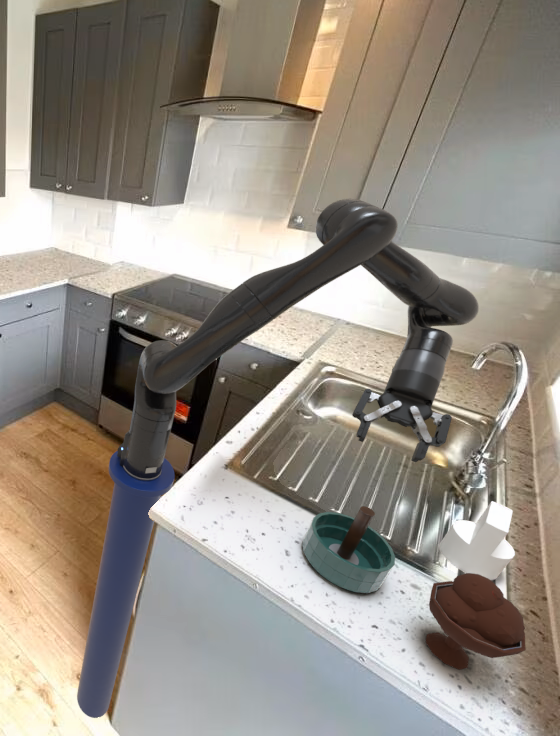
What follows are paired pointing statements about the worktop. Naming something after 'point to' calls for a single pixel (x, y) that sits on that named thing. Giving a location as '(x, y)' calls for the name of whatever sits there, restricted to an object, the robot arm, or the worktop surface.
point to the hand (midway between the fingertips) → (387, 450)
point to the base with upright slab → (480, 543)
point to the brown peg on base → (354, 535)
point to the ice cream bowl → (473, 621)
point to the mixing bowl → (356, 578)
